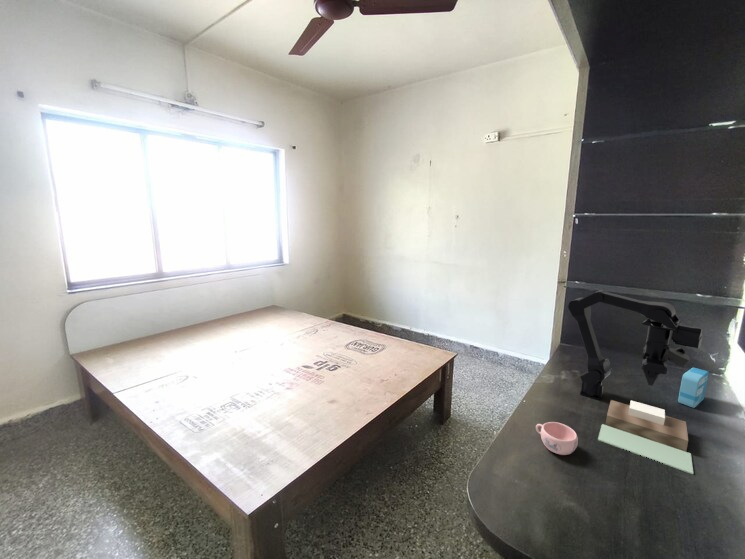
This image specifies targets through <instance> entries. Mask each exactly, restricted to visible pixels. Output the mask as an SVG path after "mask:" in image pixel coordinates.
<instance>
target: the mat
mask: <svg viewBox="0 0 745 559" xmlns="http://www.w3.org/2000/svg"><path fill="white" fill-rule="evenodd" d="M597 441H598V442H600V443H605V444H608V445H611V446H612V447H614V448H615V447H616V448H619V449H621V450H623V449H624V450H623V451H626V450H627V451H626V452H629V451H630V453H632V454H635V455H637V456H640V455H641V457H643V458H646V457H647V458H646V459H648V458H649V460H651V459H652V460H651V461H654V460H655V462H657V461H658V462H657V463H659V462H660V463H659V464H662V463H663V464H662V465H664V466H665V465H666V466H668V467H671V468H673V469H676V470H678V471H679V470H680V471H682V472H685V473H687V474H691V475H694V467H693V458H692V453H690V452H687V451H686V452H685V451H682V450H679V449H676V448H673V447H670V446H667V445H664V444H661V443H658V442H655V441H652V440H649V439H646V438H643V437H640V436H637V435H634V434H631V433H628V432H625V431H622V430H619V429H616V428H613V427H610V426H607V425H606V424H604V423H602V424H601V425H600V430H599V432H598V437H597Z"/></svg>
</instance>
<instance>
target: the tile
mask: <svg viewBox="0 0 745 559" xmlns="http://www.w3.org/2000/svg"><path fill="white" fill-rule="evenodd" d="M629 405H630V408H629V414H628V415H632V416H635V417H638V418H641V419H645V420H648V421H651V422H655V423H658V424H661V425H664V421H665V416H666V412H665V411H666V410H665V409H663V408H659V407H657V406H652V405H649V404H646V403H643V402H637V401H635V400H630V403H629Z"/></svg>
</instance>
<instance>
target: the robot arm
mask: <svg viewBox="0 0 745 559" xmlns="http://www.w3.org/2000/svg"><path fill="white" fill-rule="evenodd" d="M597 303H602V304H606V305H610V306H612V307H616V308H620V309H624V310H627V311H631V312H635V313H637V314H640V315H641V316H643V317H645V318H646V319H645V320H644V321H643V322H641V325H644V326H648V329H647V336H646V341H645V346H643V352H642V364H641V370H642V371H643V373H644V376H645V379H646V381H647V384H648V386H653V385H654V384H655V382H656V380H657V379H658V376H659V375H667V374H668V373H667V371H668V364H667V363H666V362H668V361H670V362H672V363H674V364H676V365H678V366H679V367H681V368H685V367H686V366H687V365H688V363H690V361H691V358H690V356H689V354H686V351H685V348H683V347H687V348H692V349H697V350H699V349H700V347H701V345H702V341H703V327H699V326H691V325H685V324H682V321H681V319H680V318H679V317H678V316H677V314H676V313H677V312H676V309H675V307H674V305H672V304H671V303H667V302H660V301H647V300H641V299H635V298H632V297H628V296H624V295H619V294H616V293H612V292H609V291H606V290H602V289H599V290H598V291H595V292H593V293H592V294H590V295H588V296H586V297H578V298H576V299H573V300H571V301H569V303H568V305H567V308H568V311H569V313H570V315H571V317H572V318H573V319H574V321H576V323H577V326H578V329H579V332H580V333H579V334H580V336H581V340H582V342H583V345H584V349H585V353H586V355H587V364H586V368H587V370H586V371H585V372H583V373H582V374H581V375H580V376H579V377H580V379H581V387H580V388H581V389H580V391H579V395H581V396H584V397H588V398H591V399H594V400H597V401H600V398H602V397H603V391H604V384H603V381H604V380H605V379H606V378H607V377H609V376H610V374H611V373H612V371H611V370H612V369H613V368H612V366H611V363H610V359H609V358H605V357H604V355H602V353H601V352H602V351H601V350H600V347H599V343H598V340H597V336H596V334H595V330H594V327H593V324H592V321H591V320H592V319H591V318H592V308H591V307H592V306H593V305H596V304H597ZM670 338H671V341H672V342H673V343H674V344H675V345H679V347H676V348H674V347H673V348H672V347H670ZM680 346H683V347H680Z"/></svg>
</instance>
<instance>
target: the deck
mask: <svg viewBox="0 0 745 559" xmlns="http://www.w3.org/2000/svg"><path fill="white" fill-rule="evenodd" d="M629 408H630V404H626V403H623V402H619V401H616V400H613V399H610V402H609V406H608V410H607V414H606V420H605V425H607V426H610V427H613V428H616V429H619V430H622V431H625V432H628V433H631V434H634V435H637V436H640V437H643V438H646V439H649V440H652V441H655V442H658V443H661V444H664V445H667V446H670V447H673V448H676V449H679V450H682V451H685V452H687V451H688V450H687V449H688V445H689V444H688V443H689V435H688V429H687V421H685V420H682V419H677V418H674V417H671V416H667V415H665V421H664V425H661V424H658V423H655V422H651V421H648V420H645V419H641V418H638V417H635V416H632V415H628V414H629Z"/></svg>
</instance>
